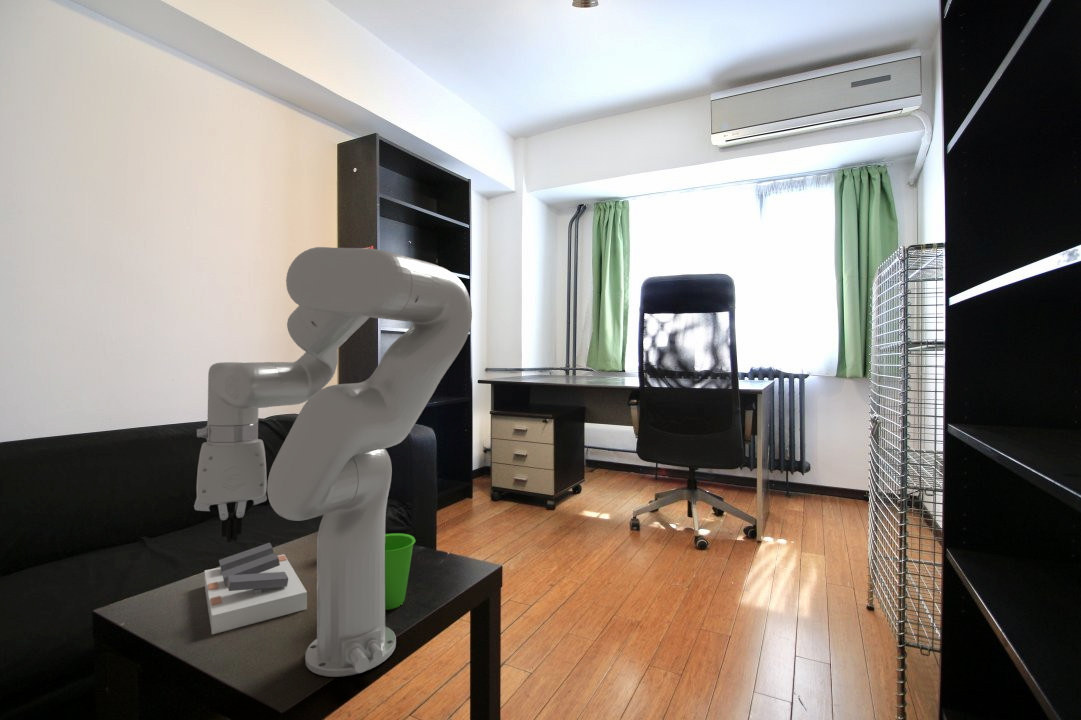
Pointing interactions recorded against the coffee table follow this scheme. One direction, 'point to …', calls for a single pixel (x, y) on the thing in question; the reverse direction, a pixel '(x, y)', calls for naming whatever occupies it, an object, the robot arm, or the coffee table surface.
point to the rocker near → (257, 581)
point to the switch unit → (252, 599)
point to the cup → (397, 568)
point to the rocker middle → (253, 566)
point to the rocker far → (245, 556)
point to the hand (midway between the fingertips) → (230, 539)
